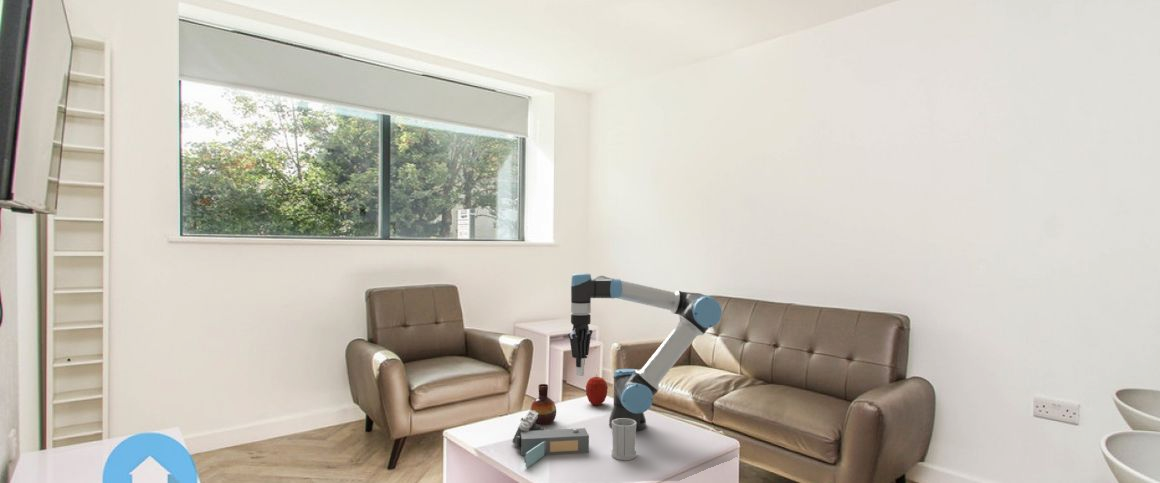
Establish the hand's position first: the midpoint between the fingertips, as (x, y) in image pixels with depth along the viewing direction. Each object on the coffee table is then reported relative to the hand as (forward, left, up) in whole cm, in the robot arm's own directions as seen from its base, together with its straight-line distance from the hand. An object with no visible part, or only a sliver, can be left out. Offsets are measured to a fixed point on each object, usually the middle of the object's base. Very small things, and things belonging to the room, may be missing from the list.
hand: (580, 375), depth 213 cm
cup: (-13, +18, -25) cm, 33 cm away
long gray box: (+11, +10, -24) cm, 29 cm away
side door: (+19, +19, -24) cm, 36 cm away
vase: (+12, -21, -25) cm, 34 cm away
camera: (+19, -1, -25) cm, 31 cm away
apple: (-15, -42, -25) cm, 51 cm away
